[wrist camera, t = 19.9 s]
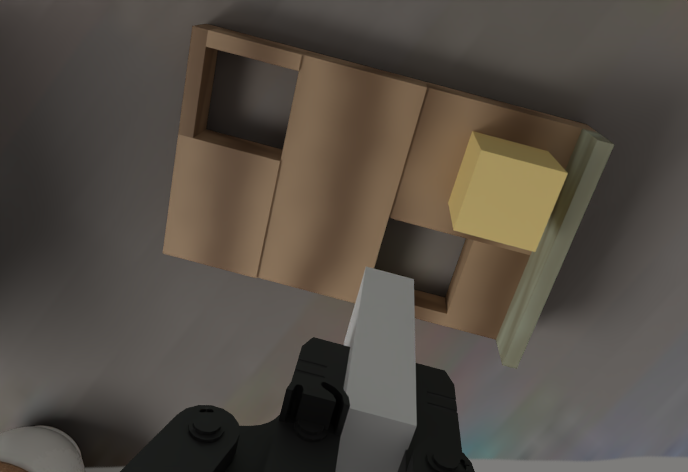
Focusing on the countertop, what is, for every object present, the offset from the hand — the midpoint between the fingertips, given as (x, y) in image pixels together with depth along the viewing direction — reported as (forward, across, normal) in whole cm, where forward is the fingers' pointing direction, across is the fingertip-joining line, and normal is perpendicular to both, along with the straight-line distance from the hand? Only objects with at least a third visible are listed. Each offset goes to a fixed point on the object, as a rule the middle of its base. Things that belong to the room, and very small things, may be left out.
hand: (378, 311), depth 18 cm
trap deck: (+24, -1, -4) cm, 25 cm away
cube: (+22, +7, 0) cm, 23 cm away
